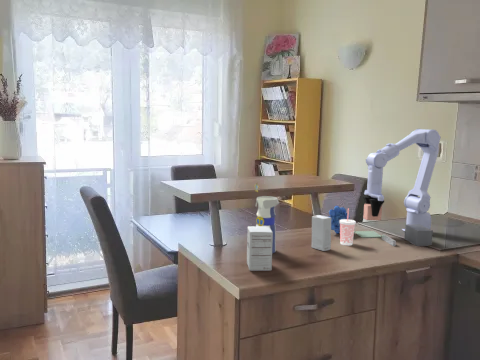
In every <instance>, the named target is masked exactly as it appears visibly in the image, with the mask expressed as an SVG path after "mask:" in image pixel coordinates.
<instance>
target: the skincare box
mask: <svg viewBox="0 0 480 360" xmlns="http://www.w3.org/2000/svg"><path fill="white" fill-rule="evenodd" d="M331 247H332V230H331V218H330V217H329V216H327V215H320V214H317V215H313V216H311V248H312V249H315V250H319V251H322V252H326V251H327V252H328V251H330V250H331Z"/></svg>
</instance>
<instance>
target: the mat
mask: <svg viewBox="0 0 480 360" xmlns="http://www.w3.org/2000/svg"><path fill="white" fill-rule="evenodd" d="M354 234H355V235H356V234H357V236H359V237H360V238H363V239H365V238H370V239H371V238H382V235H381V234H379V233H378V232H376V231H374V230H361V231H360V230H357V231H355V230H354Z"/></svg>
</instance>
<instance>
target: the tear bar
mask: <svg viewBox="0 0 480 360" xmlns="http://www.w3.org/2000/svg"><path fill="white" fill-rule="evenodd" d="M381 236H382V237H381V240H383V241H385V243H387V244H389V245H390V246H392V247H396V245H397V241H396V240H395V239H393V238H391V237H390V236H388V235H387V234H385V233H384V234H383V233H382V235H381Z"/></svg>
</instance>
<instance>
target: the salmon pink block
mask: <svg viewBox="0 0 480 360" xmlns="http://www.w3.org/2000/svg"><path fill="white" fill-rule="evenodd" d="M382 213H383V205H382V206H381V208H380V211H379V214H378V216H372V208H371V204H366V203H364V205H363V219H364V220H366V221H382Z"/></svg>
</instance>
